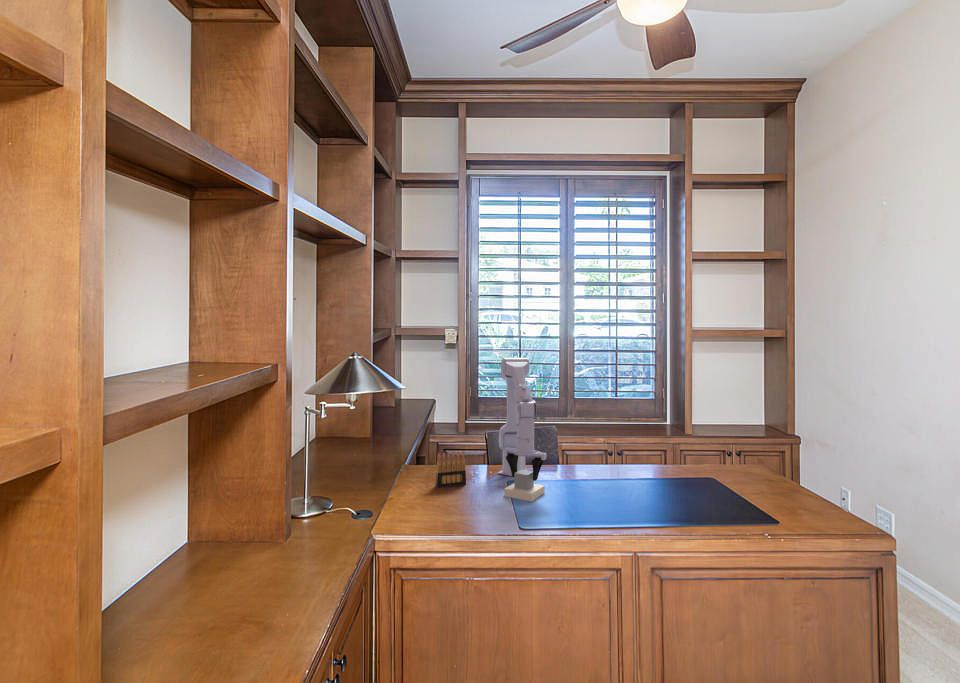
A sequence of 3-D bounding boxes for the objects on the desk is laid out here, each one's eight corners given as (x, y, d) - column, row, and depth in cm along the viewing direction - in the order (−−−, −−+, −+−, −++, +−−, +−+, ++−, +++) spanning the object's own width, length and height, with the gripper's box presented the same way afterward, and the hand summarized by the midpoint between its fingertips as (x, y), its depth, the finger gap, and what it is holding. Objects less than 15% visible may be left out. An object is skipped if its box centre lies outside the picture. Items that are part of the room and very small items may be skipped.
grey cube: (520, 484, 189) (520, 469, 189) (533, 486, 187) (533, 471, 187) (514, 487, 185) (514, 472, 185) (527, 490, 183) (527, 475, 182)
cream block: (517, 489, 193) (517, 480, 193) (544, 494, 188) (544, 485, 188) (504, 497, 184) (504, 488, 184) (531, 502, 179) (532, 493, 179)
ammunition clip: (436, 487, 192) (437, 453, 192) (435, 486, 194) (435, 452, 193) (466, 484, 196) (466, 450, 196) (464, 483, 198) (464, 449, 197)
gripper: (500, 437, 186) (499, 477, 186) (540, 442, 178) (539, 484, 179) (510, 433, 192) (509, 472, 192) (549, 438, 184) (548, 479, 185)
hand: (524, 478), depth 186 cm, fingers open, 7 cm apart
